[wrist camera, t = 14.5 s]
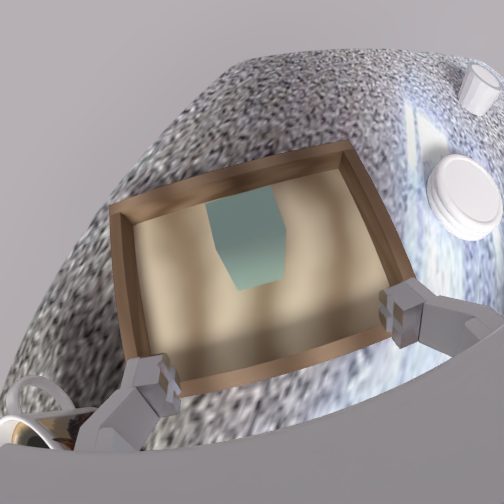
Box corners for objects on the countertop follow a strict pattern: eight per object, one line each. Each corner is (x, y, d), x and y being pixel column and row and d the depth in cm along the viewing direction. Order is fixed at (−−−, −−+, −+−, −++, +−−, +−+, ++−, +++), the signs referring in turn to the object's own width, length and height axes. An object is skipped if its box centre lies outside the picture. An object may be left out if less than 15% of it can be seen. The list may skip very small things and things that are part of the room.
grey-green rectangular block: (238, 291, 26) (215, 249, 16) (229, 259, 27) (205, 203, 17) (283, 278, 26) (286, 229, 16) (273, 247, 27) (270, 185, 17)
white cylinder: (493, 117, 33) (509, 90, 26) (472, 120, 33) (490, 89, 26) (469, 90, 35) (482, 63, 29) (447, 90, 35) (460, 60, 29)
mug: (62, 468, 20) (-5, 487, 10) (63, 374, 25) (-15, 366, 14) (143, 503, 19) (86, 549, 9) (147, 400, 23) (75, 415, 13)
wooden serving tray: (154, 399, 23) (135, 404, 20) (126, 223, 30) (109, 205, 26) (410, 325, 24) (430, 319, 20) (342, 163, 31) (348, 139, 27)
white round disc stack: (426, 157, 31) (436, 139, 27) (487, 186, 29) (500, 172, 25) (421, 225, 28) (435, 209, 24) (489, 254, 26) (506, 243, 22)
